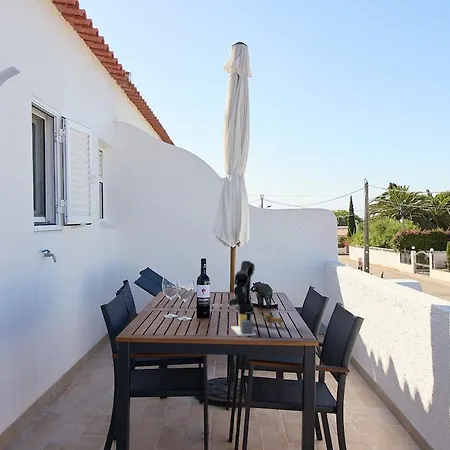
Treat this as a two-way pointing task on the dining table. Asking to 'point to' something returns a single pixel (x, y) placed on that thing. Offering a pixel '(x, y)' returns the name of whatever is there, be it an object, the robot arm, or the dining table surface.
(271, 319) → the lion figurine
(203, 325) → the dining table surface
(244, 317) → the yellow pegged block
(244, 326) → the cord rail
